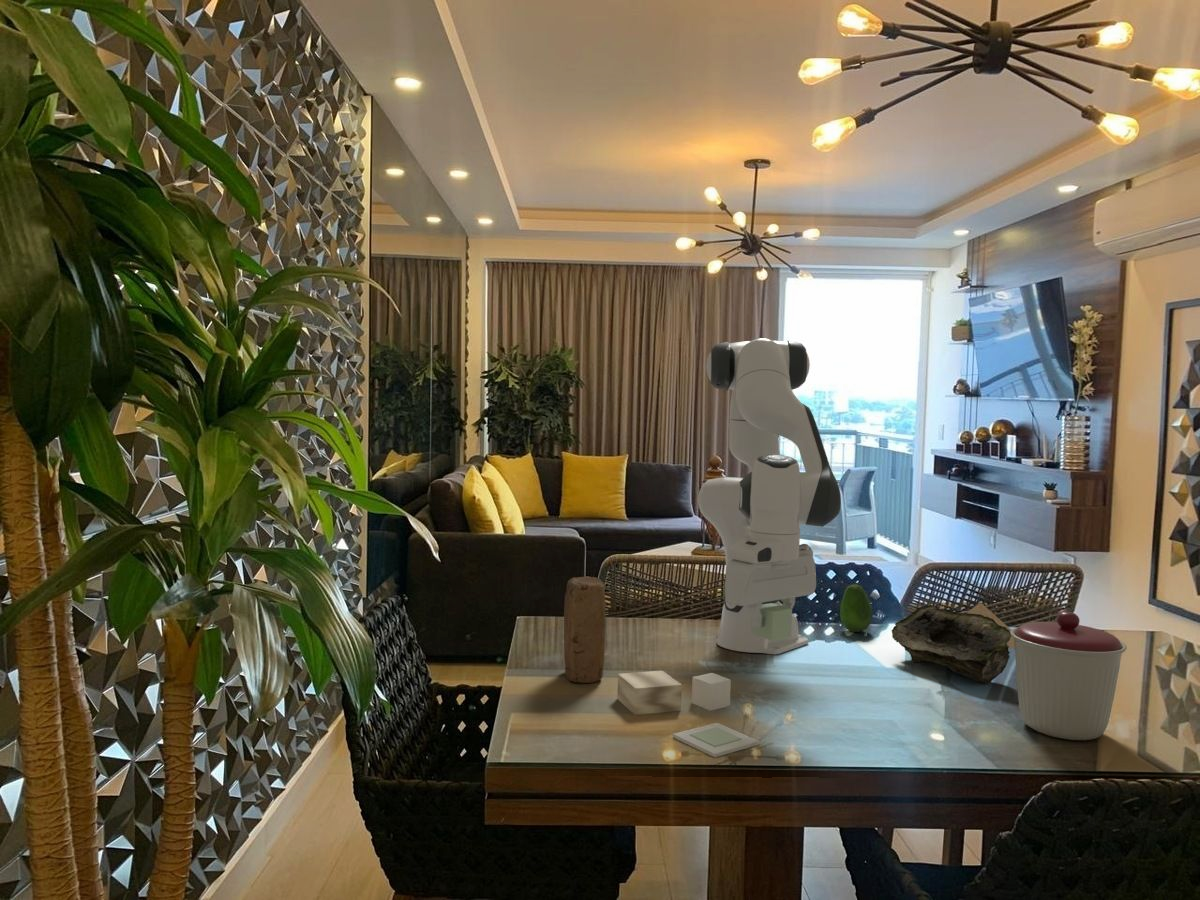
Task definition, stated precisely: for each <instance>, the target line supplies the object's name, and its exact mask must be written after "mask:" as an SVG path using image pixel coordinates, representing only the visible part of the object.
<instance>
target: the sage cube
mask: <svg viewBox="0 0 1200 900" xmlns="http://www.w3.org/2000/svg"><path fill="white" fill-rule="evenodd" d="M760 612H761V615H762V617H765V626H764V627H760V628H756V627H753V626H752V616H751V634H752V635H756V636H759V637H762V638H766V639H769V640H776V639H781V638H786V637H791V626H792V614H793V608H788V607H784V606H780V605H776V604H773V603H768V604H762V608H761V609H760Z"/></svg>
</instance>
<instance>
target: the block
mask: <svg viewBox="0 0 1200 900" xmlns="http://www.w3.org/2000/svg"><path fill="white" fill-rule="evenodd" d="M563 609H564V610H563V611H564V612H563V652H564V653H563V655H564V665H565V667H564V673H565V677H566V678H567V679H568V680H569V681H570V682H574V683H581V684H589V683H590V684H591V683H595V682H598V681H600V680H602V678H603V677H604V669H605V668H604V666H605V653H606V652H605V651H606V593H605V584H604V583H603V582H602V580H601V579H600V578H597V577H595V576H579V577H572V578H570V579H569V580H568V581H567V584H566V590H565V595H564V607H563Z"/></svg>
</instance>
